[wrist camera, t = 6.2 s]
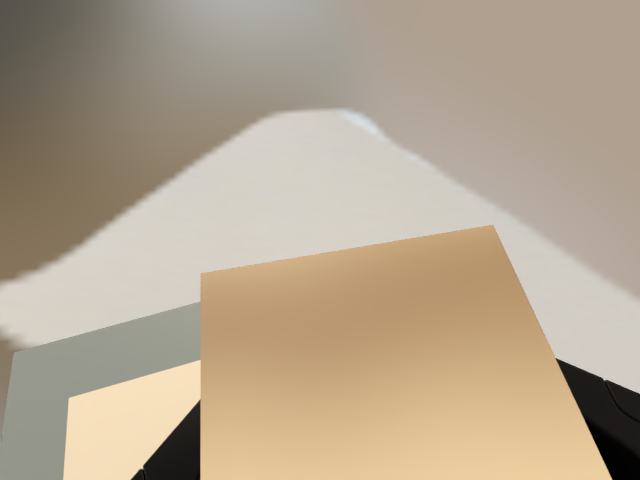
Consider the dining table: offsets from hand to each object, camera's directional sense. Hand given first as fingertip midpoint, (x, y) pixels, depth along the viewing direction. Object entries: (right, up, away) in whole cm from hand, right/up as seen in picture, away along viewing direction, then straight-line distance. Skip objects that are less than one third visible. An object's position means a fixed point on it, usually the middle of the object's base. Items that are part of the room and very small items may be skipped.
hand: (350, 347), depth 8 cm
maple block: (0, -4, +5) cm, 6 cm away
